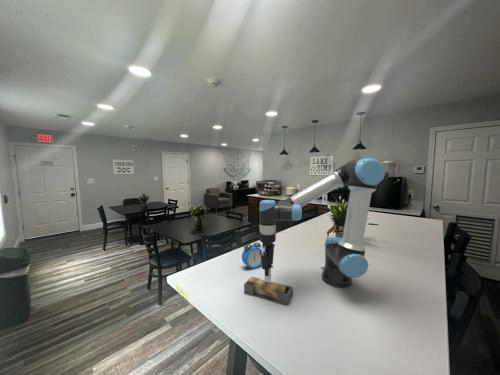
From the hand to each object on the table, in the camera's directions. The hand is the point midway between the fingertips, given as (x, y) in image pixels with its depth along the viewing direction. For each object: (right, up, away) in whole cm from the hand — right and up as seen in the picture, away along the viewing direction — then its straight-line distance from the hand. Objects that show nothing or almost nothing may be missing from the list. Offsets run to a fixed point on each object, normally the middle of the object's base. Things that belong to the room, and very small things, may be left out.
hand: (267, 281), depth 96 cm
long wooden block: (0, -6, +1) cm, 6 cm away
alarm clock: (-7, -5, +30) cm, 31 cm away
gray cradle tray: (0, -7, 0) cm, 7 cm away
